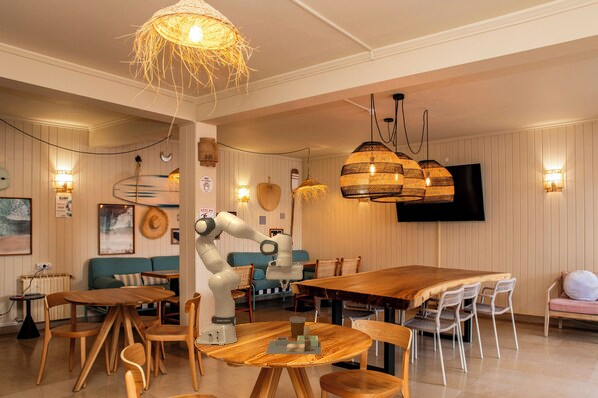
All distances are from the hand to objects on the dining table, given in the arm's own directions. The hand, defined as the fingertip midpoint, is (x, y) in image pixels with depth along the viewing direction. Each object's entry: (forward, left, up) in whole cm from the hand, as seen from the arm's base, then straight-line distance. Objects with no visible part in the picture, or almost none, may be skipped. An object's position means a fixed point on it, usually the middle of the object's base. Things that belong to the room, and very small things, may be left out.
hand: (284, 287), depth 253 cm
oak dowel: (+13, -1, -30) cm, 32 cm away
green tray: (+13, -1, -30) cm, 33 cm away
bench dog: (+13, -13, -30) cm, 35 cm away
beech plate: (+7, -13, -30) cm, 34 cm away
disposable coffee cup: (+7, +16, -31) cm, 36 cm away
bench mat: (+6, -7, -31) cm, 32 cm away
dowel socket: (-1, -1, -30) cm, 30 cm away
